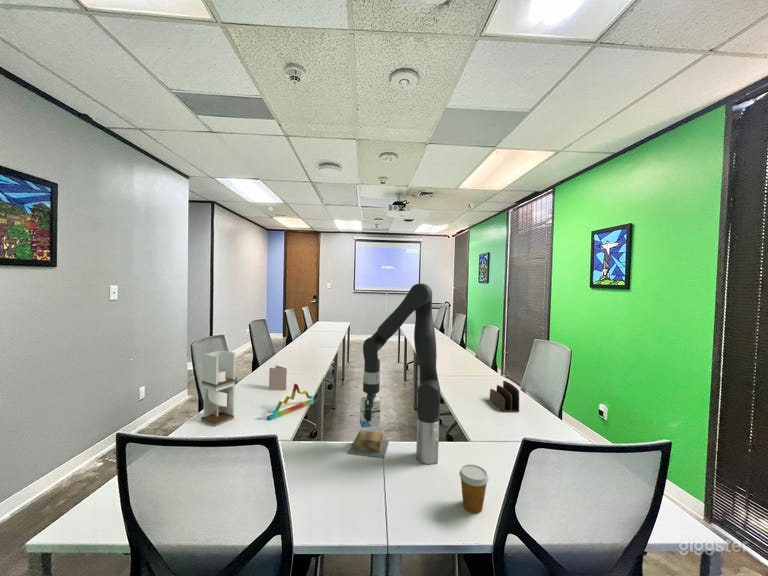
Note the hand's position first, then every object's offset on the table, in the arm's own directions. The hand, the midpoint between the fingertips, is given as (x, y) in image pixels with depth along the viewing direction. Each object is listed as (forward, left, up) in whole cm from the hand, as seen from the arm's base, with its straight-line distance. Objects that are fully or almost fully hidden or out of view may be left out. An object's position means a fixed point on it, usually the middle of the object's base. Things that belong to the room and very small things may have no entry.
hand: (370, 417), depth 140 cm
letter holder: (-72, -67, -14) cm, 99 cm away
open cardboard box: (0, 0, -13) cm, 13 cm away
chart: (+51, -29, -14) cm, 60 cm away
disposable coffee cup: (-42, +29, -14) cm, 53 cm away
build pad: (0, 0, -14) cm, 14 cm away
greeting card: (+76, -58, -14) cm, 97 cm away
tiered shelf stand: (+83, -9, -14) cm, 85 cm away
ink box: (0, 0, -3) cm, 3 cm away
